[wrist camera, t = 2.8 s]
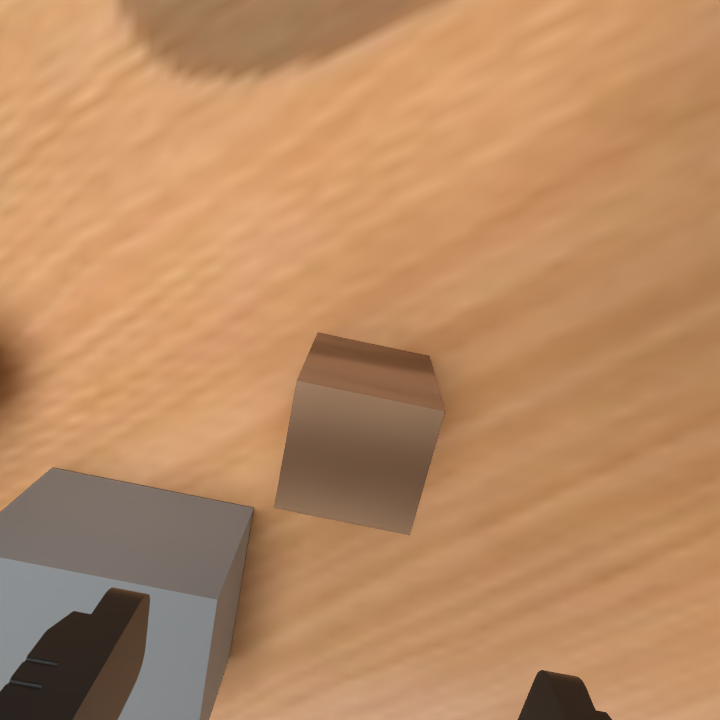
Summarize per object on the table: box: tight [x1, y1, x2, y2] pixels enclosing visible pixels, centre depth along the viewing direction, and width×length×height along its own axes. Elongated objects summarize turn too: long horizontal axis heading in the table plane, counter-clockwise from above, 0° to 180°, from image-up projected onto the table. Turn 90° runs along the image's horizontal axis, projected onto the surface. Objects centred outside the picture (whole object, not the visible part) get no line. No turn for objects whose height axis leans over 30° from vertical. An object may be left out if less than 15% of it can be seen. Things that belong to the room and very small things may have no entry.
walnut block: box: [274, 333, 445, 535], centre depth 21 cm, size 5×5×6 cm
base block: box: [0, 468, 254, 720], centre depth 24 cm, size 10×10×6 cm
